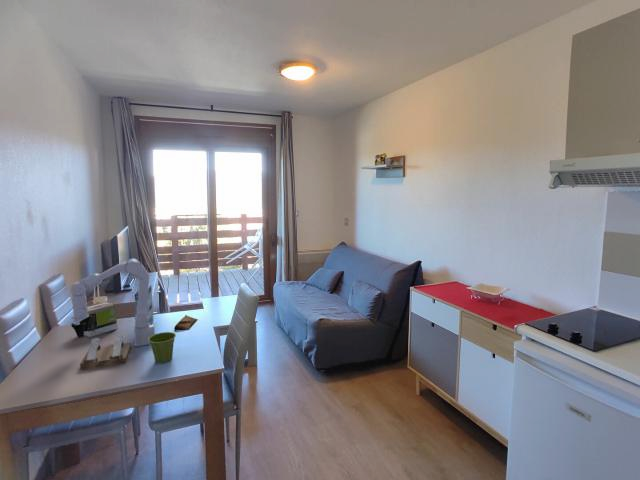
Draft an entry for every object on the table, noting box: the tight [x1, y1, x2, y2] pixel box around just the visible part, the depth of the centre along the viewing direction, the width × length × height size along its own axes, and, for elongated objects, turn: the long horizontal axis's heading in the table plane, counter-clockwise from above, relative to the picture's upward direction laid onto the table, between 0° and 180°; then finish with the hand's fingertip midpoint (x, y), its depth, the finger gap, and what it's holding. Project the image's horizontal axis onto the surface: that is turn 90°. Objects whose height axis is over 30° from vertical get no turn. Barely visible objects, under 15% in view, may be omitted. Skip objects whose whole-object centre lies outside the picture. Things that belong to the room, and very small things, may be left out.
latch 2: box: [112, 334, 124, 358], centre depth 169 cm, size 3×13×1 cm, turn 20°
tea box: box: [84, 301, 118, 338], centre depth 202 cm, size 15×10×15 cm, turn 144°
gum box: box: [134, 284, 154, 325], centre depth 207 cm, size 20×5×23 cm, turn 13°
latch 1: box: [87, 337, 100, 361], centre depth 166 cm, size 3×13×1 cm, turn 20°
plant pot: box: [148, 331, 176, 364], centre depth 167 cm, size 12×12×11 cm
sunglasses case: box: [174, 314, 198, 331], centre depth 213 cm, size 18×7×7 cm
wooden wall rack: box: [79, 341, 133, 371], centre depth 170 cm, size 18×18×5 cm
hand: (82, 334), depth 174 cm, fingers open, 7 cm apart
